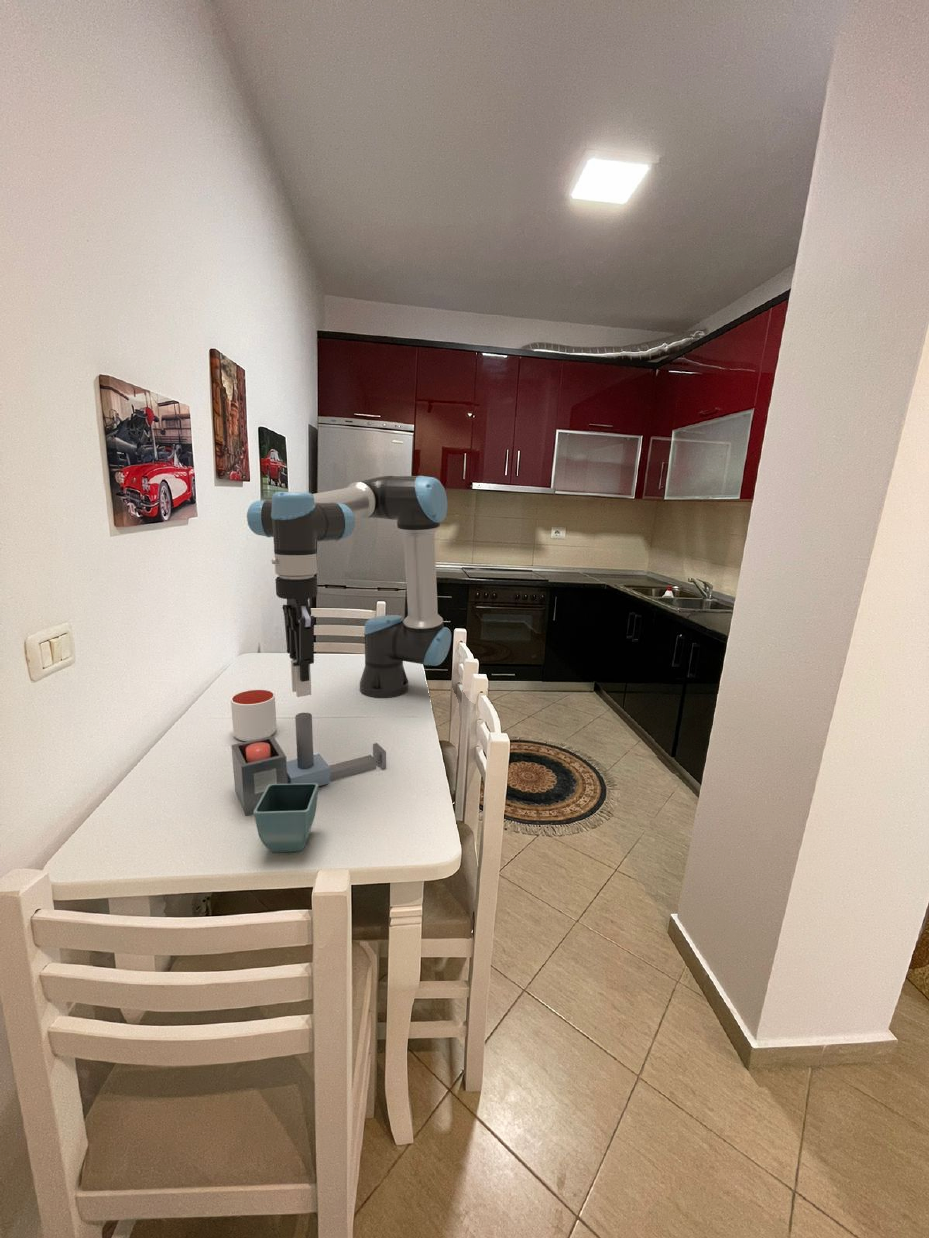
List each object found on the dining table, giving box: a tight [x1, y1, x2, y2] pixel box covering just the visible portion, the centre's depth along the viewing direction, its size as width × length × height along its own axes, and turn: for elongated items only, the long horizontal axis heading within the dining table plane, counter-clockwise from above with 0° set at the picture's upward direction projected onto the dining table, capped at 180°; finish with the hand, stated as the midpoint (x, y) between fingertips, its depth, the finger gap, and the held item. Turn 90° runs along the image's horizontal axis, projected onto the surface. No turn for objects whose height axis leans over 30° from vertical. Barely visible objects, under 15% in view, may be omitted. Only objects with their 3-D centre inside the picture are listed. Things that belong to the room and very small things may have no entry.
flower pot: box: [252, 783, 319, 853], centre depth 88 cm, size 9×9×9 cm
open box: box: [230, 735, 288, 816], centre depth 101 cm, size 8×10×10 cm
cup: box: [230, 689, 278, 742], centre depth 127 cm, size 10×10×10 cm
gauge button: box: [246, 742, 271, 763], centre depth 100 cm, size 4×4×5 cm
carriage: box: [286, 712, 331, 787], centre depth 105 cm, size 8×7×15 cm
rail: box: [287, 742, 387, 784], centre depth 110 cm, size 22×5×4 cm, turn 123°
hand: (301, 692), depth 102 cm, fingers open, 2 cm apart
